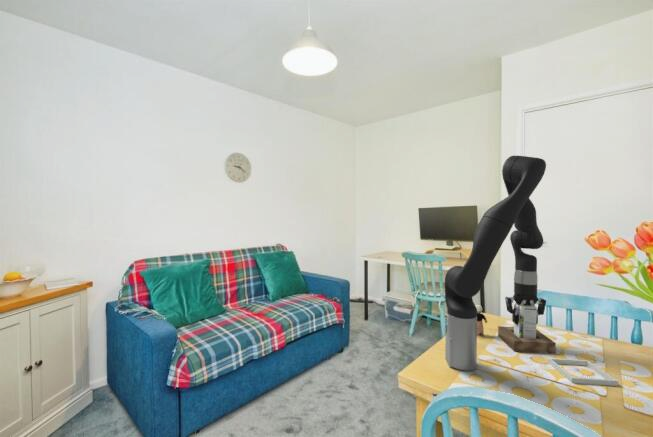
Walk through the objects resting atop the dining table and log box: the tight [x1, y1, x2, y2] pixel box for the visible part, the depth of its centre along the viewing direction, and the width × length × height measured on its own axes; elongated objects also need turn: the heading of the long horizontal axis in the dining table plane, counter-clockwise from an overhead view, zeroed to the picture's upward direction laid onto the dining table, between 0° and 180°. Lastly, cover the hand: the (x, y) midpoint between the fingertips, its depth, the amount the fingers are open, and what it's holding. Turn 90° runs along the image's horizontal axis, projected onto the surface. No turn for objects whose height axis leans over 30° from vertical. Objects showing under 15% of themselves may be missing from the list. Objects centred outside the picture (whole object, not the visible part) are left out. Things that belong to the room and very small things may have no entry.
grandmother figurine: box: [475, 304, 488, 337], centre depth 126 cm, size 8×4×13 cm, turn 108°
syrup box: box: [513, 301, 538, 339], centre depth 117 cm, size 6×6×14 cm
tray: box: [547, 357, 619, 387], centre depth 96 cm, size 12×12×2 cm
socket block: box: [497, 325, 557, 355], centre depth 117 cm, size 14×14×4 cm
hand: (524, 324), depth 117 cm, fingers closed on syrup box, 5 cm apart
